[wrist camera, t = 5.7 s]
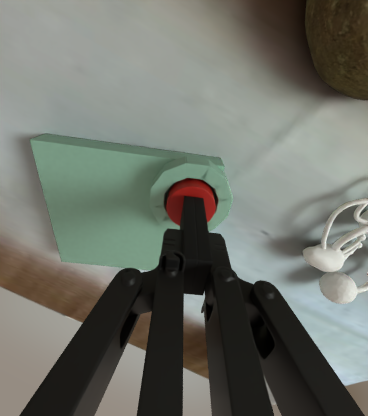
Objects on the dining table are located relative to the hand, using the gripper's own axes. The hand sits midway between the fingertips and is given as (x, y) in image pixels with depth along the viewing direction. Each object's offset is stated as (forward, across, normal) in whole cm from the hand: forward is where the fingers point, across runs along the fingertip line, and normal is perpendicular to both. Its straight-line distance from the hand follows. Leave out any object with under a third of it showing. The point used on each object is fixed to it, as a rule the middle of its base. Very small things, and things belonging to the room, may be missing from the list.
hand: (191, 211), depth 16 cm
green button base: (+5, -6, -4) cm, 8 cm away
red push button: (+2, 0, 0) cm, 2 cm away
